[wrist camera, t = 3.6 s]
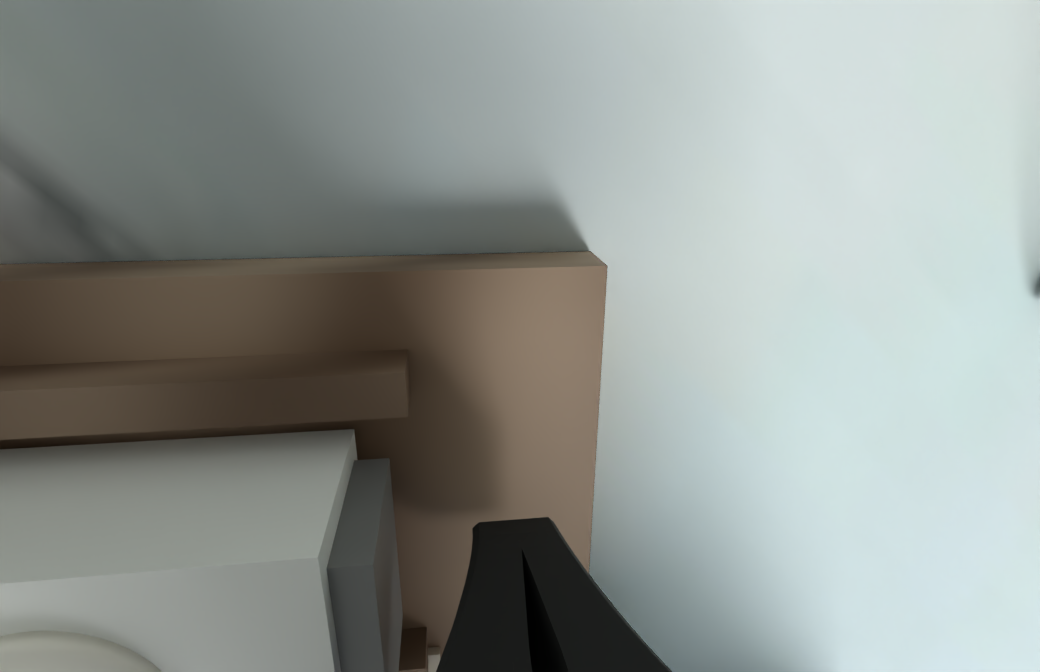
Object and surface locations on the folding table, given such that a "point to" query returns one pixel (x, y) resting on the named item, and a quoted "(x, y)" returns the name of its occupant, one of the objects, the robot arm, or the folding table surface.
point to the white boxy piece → (199, 557)
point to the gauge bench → (336, 381)
